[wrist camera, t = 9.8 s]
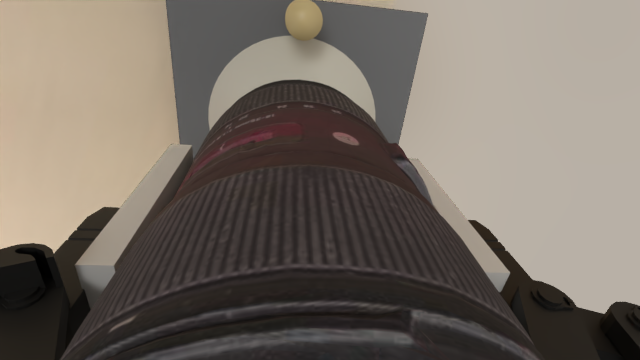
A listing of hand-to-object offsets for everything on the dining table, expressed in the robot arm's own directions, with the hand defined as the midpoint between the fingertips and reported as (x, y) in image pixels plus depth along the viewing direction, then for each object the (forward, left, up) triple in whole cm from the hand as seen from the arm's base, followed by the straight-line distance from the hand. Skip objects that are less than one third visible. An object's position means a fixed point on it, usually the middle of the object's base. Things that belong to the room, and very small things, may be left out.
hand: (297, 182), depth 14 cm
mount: (0, 0, -8) cm, 8 cm away
